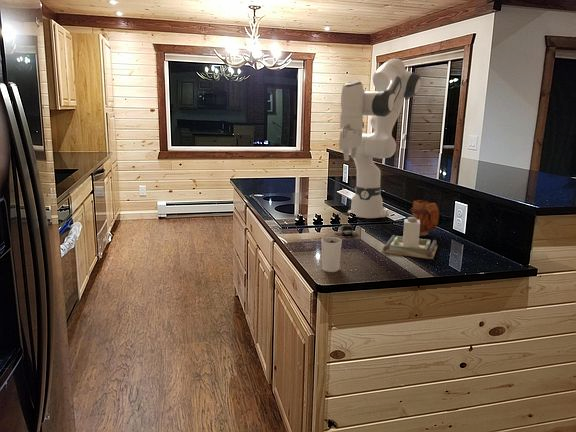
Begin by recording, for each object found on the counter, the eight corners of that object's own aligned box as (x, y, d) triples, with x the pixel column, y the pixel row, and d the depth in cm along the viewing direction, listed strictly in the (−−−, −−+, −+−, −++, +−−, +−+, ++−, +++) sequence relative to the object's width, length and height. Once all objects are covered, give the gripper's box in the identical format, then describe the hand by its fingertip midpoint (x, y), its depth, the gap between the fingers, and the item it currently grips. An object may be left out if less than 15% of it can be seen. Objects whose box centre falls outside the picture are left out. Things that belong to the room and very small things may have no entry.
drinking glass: (318, 266, 157) (318, 237, 154) (336, 264, 158) (337, 236, 156) (324, 273, 151) (324, 243, 148) (343, 271, 152) (344, 242, 150)
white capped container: (402, 244, 177) (404, 215, 174) (417, 245, 176) (419, 216, 173) (402, 248, 172) (404, 219, 169) (418, 249, 171) (420, 220, 168)
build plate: (359, 233, 197) (359, 222, 196) (363, 238, 190) (363, 227, 189) (330, 233, 196) (330, 223, 195) (333, 238, 189) (333, 228, 188)
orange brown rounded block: (404, 232, 196) (406, 198, 193) (419, 231, 199) (422, 196, 195) (426, 242, 183) (429, 205, 179) (442, 240, 186) (446, 204, 182)
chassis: (390, 240, 185) (390, 233, 184) (437, 246, 178) (438, 239, 177) (381, 253, 170) (381, 245, 169) (432, 260, 163) (433, 252, 162)
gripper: (351, 125, 174) (350, 162, 177) (365, 123, 192) (363, 156, 196) (335, 125, 176) (334, 161, 180) (350, 122, 195) (349, 155, 198)
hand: (349, 159), depth 188 cm, fingers open, 8 cm apart
